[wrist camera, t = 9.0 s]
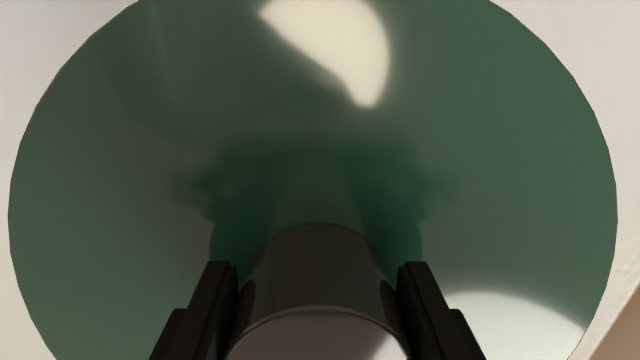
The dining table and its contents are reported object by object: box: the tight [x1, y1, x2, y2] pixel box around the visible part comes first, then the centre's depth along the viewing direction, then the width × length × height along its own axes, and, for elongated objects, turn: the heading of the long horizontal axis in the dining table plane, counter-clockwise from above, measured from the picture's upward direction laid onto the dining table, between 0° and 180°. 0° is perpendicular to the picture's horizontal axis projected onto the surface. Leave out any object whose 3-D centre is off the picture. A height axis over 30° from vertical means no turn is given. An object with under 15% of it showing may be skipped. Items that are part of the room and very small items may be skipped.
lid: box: [8, 0, 618, 360], centre depth 11 cm, size 18×18×5 cm
